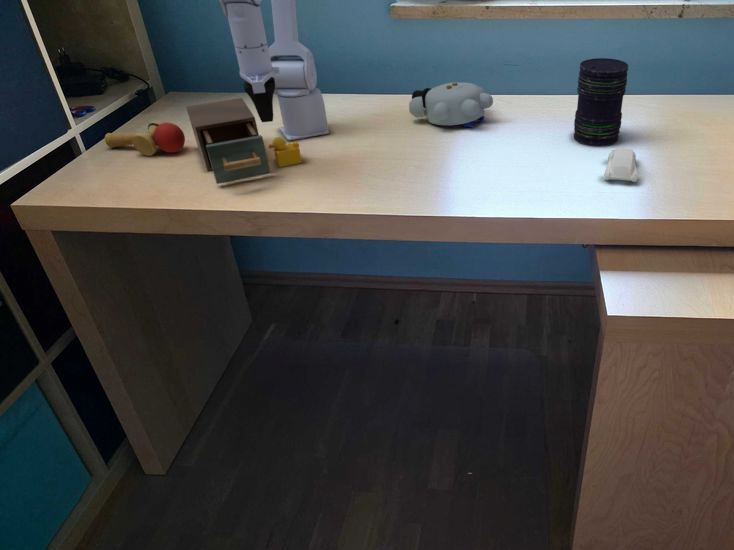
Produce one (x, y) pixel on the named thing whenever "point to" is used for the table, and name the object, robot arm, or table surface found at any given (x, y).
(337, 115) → the table surface
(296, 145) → the duck
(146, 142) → the kendama
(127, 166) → the table surface
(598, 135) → the storage jar
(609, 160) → the white toy car
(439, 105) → the figurine
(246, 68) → the robot arm
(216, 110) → the cabinet
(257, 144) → the drawer
